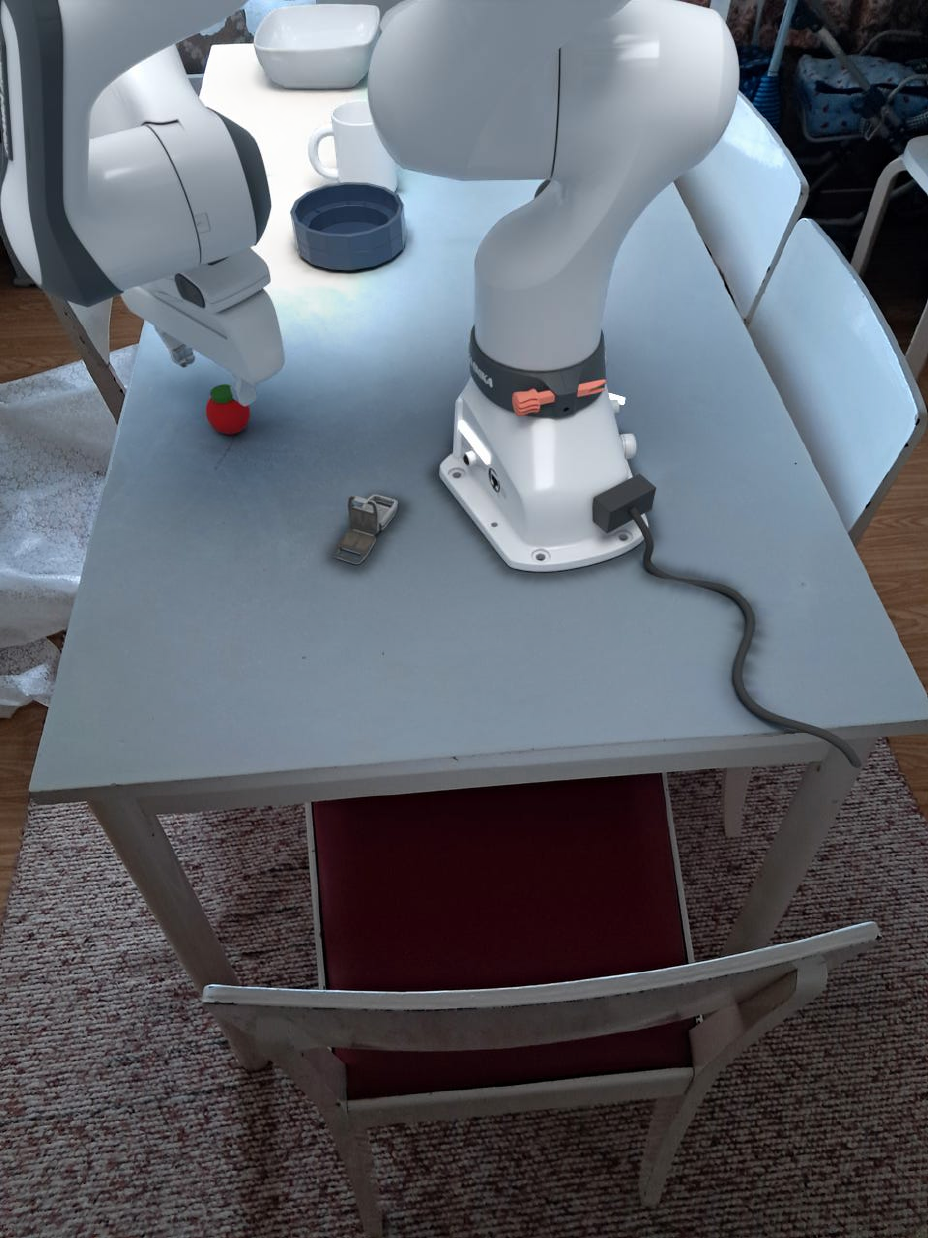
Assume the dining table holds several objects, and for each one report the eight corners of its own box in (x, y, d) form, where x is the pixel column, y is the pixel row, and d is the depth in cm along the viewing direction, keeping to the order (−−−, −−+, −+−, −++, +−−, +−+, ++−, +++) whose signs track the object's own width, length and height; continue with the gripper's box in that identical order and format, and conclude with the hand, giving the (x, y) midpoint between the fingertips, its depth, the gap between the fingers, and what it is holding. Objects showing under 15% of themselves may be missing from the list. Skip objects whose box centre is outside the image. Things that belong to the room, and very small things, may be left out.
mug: (313, 206, 121) (301, 127, 113) (315, 178, 126) (304, 101, 118) (398, 201, 121) (393, 122, 113) (397, 174, 127) (392, 97, 119)
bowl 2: (417, 263, 111) (415, 225, 107) (308, 282, 109) (302, 243, 105) (390, 212, 120) (387, 175, 116) (288, 228, 117) (282, 191, 113)
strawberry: (256, 437, 90) (247, 399, 86) (214, 446, 89) (202, 408, 85) (250, 412, 93) (241, 374, 89) (209, 420, 92) (197, 382, 88)
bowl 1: (254, 97, 145) (244, 45, 139) (275, 52, 158) (267, 2, 152) (376, 98, 144) (371, 45, 138) (387, 52, 157) (383, 2, 151)
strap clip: (373, 498, 84) (368, 464, 81) (401, 506, 83) (397, 473, 80) (331, 558, 79) (324, 525, 76) (360, 567, 78) (354, 534, 75)
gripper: (75, 222, 77) (124, 355, 88) (222, 304, 69) (257, 440, 80) (134, 195, 80) (175, 327, 91) (282, 271, 72) (307, 407, 83)
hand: (214, 381), depth 85 cm, fingers open, 8 cm apart
